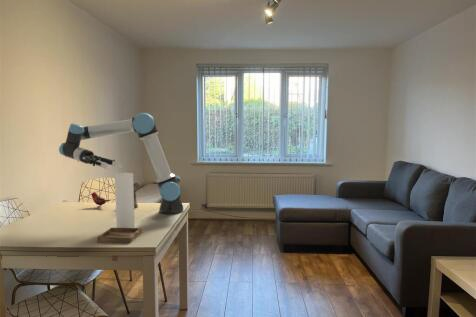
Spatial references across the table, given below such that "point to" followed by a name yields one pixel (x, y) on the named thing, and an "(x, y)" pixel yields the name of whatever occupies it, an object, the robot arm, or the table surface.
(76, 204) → the table surface
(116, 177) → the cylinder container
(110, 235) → the walnut stand tray
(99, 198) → the decorative bird figurine
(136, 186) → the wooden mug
